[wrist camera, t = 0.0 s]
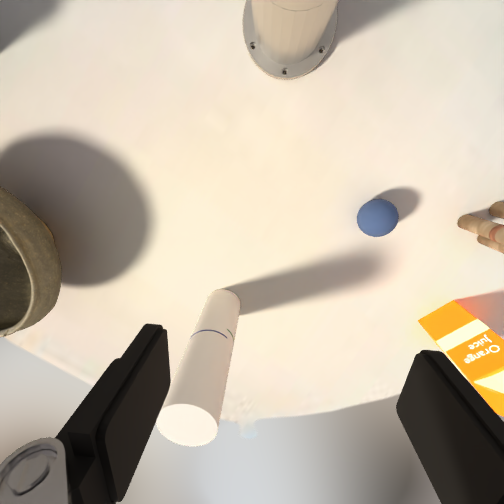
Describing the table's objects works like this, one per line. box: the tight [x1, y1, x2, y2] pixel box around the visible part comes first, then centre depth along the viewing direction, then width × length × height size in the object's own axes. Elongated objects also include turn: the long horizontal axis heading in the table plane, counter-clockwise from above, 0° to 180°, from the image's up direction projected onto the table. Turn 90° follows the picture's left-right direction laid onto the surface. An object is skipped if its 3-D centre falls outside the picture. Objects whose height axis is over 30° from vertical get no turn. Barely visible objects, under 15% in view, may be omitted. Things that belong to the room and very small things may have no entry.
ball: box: [357, 199, 399, 237], centre depth 41 cm, size 6×6×6 cm
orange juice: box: [418, 300, 504, 416], centre depth 41 cm, size 8×9×20 cm
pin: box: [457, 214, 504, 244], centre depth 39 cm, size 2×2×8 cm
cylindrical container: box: [156, 289, 241, 446], centre depth 41 cm, size 7×7×25 cm
